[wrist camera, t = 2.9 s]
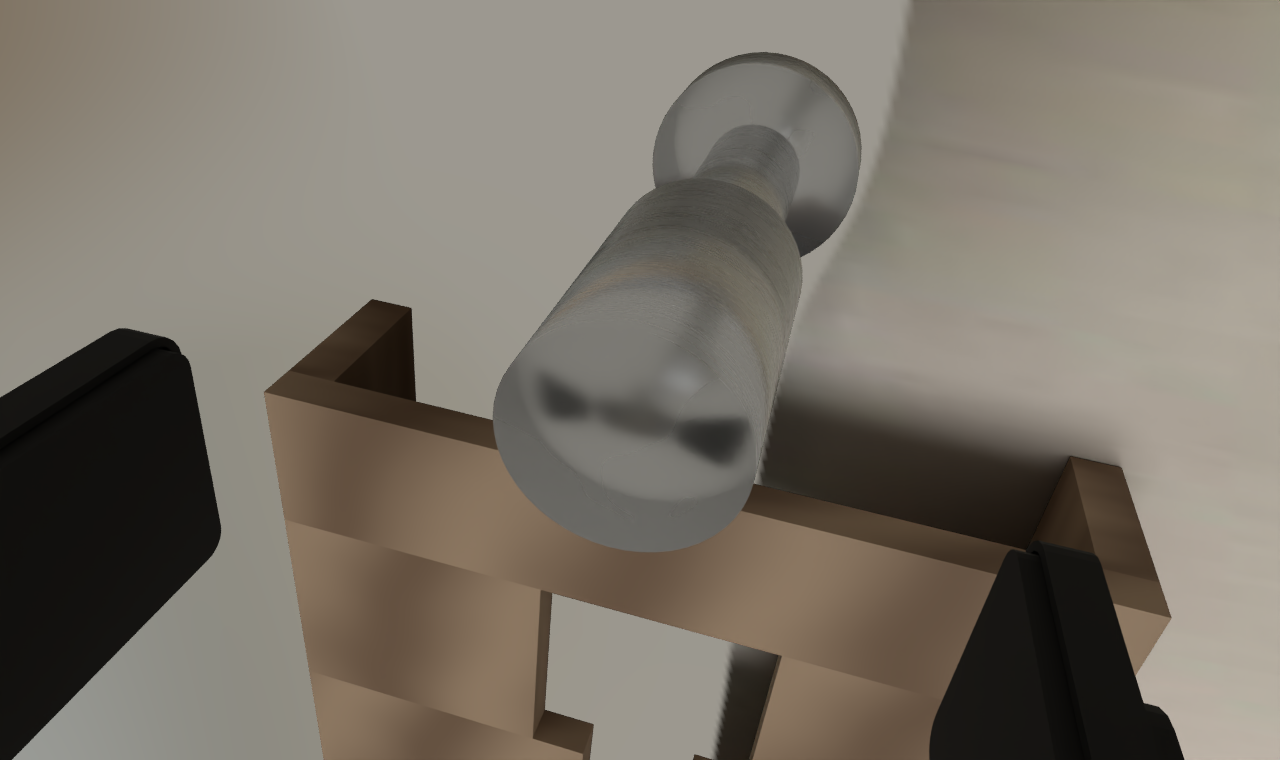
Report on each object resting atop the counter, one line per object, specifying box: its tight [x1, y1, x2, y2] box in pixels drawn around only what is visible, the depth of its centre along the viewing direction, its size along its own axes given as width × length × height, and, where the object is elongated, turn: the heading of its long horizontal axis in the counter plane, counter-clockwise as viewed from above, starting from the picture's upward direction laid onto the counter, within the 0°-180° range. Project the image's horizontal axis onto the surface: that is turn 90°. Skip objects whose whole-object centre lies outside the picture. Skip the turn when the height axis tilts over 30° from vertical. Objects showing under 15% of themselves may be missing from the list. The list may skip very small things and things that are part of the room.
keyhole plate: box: [264, 299, 1171, 760], centre depth 27 cm, size 20×22×5 cm
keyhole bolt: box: [493, 52, 861, 552], centre depth 15 cm, size 4×4×12 cm
